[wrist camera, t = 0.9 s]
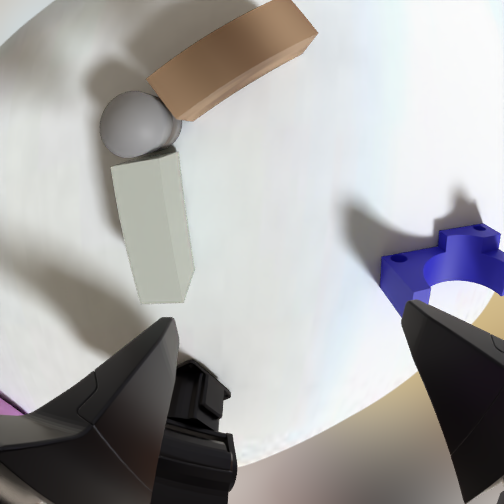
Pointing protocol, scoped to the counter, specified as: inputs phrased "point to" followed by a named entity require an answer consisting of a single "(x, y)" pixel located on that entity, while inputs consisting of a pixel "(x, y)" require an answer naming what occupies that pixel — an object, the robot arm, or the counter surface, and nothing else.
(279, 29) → the hinge base
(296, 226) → the counter surface
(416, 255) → the cable clip
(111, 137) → the hinge leaf
